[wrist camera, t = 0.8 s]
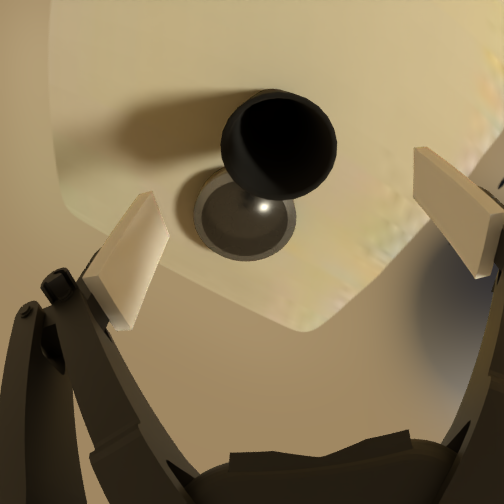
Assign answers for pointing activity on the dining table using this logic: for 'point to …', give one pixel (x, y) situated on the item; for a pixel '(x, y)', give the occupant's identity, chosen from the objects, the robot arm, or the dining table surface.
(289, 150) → the cup
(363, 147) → the dining table surface
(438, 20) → the dining table surface
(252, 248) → the grey metal bowl
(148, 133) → the dining table surface
